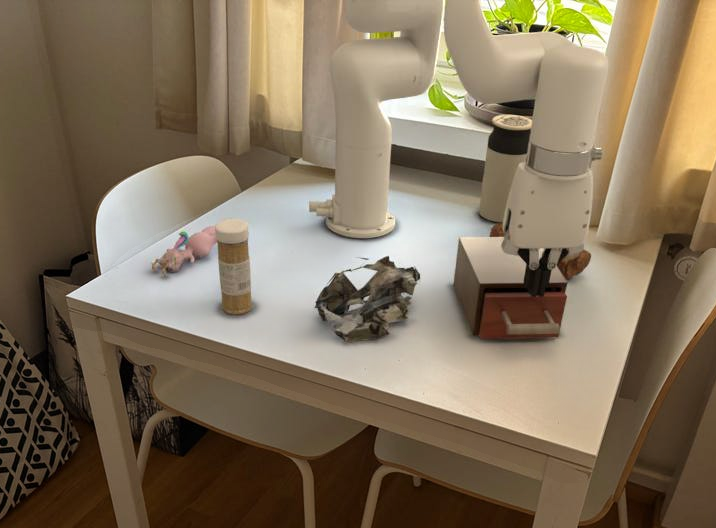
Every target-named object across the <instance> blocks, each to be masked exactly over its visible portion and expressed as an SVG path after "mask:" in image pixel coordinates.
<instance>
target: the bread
mask: <svg viewBox="0 0 716 528" xmlns="http://www.w3.org/2000/svg"><path fill="white" fill-rule="evenodd" d="M488 237H505V233H504V232H503V223H501V222H497V223H496V224H495V225H494V226H493V227H492V228H491V230H490V232H489V235H488ZM591 259H592V254H591V252H590V251H588V250H586V249H584V250H583V251H582V252H580V253H576V254H572V255H567V256H566V257H565V258H563V259H562V260H561V261H560V262H558V263H557V267H558V268H559V270H560V272H561V273H562V275H563V276H564V278H565V279H566V280H572V279H573V278H574V277H576V276H578V275H580V274H581V273H583V271H584V270H585V269H586V268H587V267H588V266H589V264H590V262H591Z"/></svg>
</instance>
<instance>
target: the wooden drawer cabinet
mask: <svg viewBox="0 0 716 528" xmlns="http://www.w3.org/2000/svg"><path fill="white" fill-rule="evenodd" d="M503 239H504V237H489V236H459V237H458V242H457V243H458V244H457V252H456V258H455V259H456V260H455V266H454V267H455V268H454V275H453V284H452V287H453V290H454V292H455V294H456V297H457V300H458V303H459V304H460V307H461V309H462V313H463V315H464V318H465V321H466V323H467V325H468V328H469V330H470V333H471V336H472V337H480V336H479V330H480V316H481V309H482V302H483V295H484V288H525V287H524V275H525V269H526V263H525V262H524V261H523V260H522V259H521V257H520V256H517V255H516V256H515V255H511V254H506V253H504V252H503V250H502V248H501V244H502V242H503ZM543 250H544V248H539V259H540V258H541V256H542V253H543ZM567 287H568V281H567V279H566V278H564V276H563V275H562V273H561V272H560V270H559V268H558V267H557V265H556V267H555V268H554V269H552V271H551V276H550V281H549V286H548V288H557V289H556V292H565V293H566V291H567Z"/></svg>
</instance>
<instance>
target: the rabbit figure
mask: <svg viewBox="0 0 716 528" xmlns="http://www.w3.org/2000/svg"><path fill="white" fill-rule="evenodd" d="M178 236H179V238H178V239H177V241H176V242H175V245H174V247H173V248H167V249H166V252H164V254H163V255H162V257H160V258H155V260H154V261H153V262H150V263H151V270H153V273H155V272H157V269H156V265H157V264H159V266H160V268H161V272H162V273H161V275H164V276H167V273H166V270H167V271H169V272H171V273H176V272H178V271H179V270H180V268H181V267H182V264H183V263H186V262H188V261H189V260H190V261H189V262H190V264H194V263H195V259H197V260H201V259H204V258H206V257H207V256H208V255H209V254H210V253H211V251H212V249H213V248H214V245H215V244H217V241H216V240H217V239H216V237H215V225H210V226H207V227H205V228H203V229H202V230H201V231H198V232H195V233H193V234H192V235H190V236H189V234H188V232H187V231H181V232H179V233H178ZM181 247H184V248H185V249H180V248H181Z"/></svg>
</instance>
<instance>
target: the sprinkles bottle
mask: <svg viewBox="0 0 716 528" xmlns="http://www.w3.org/2000/svg"><path fill="white" fill-rule="evenodd" d="M248 224H249V223H247V221H245V220H242V219H239V218H226V219H222V220H220V221H218V222H216V223H215V225H214V226H215V237H216V239H217V240H216V241H217V243H216V244H217V262H218V274H219V286H220V293H221V309H222V311H224V312H225V313H227V314H228V315H229V314H230V315H236V316H237V315H244V314H246V313H248V312H250V311H251V310H252V308H253V302H252V275H251V259H250V251H249V237H250V232H249V225H248Z"/></svg>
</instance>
